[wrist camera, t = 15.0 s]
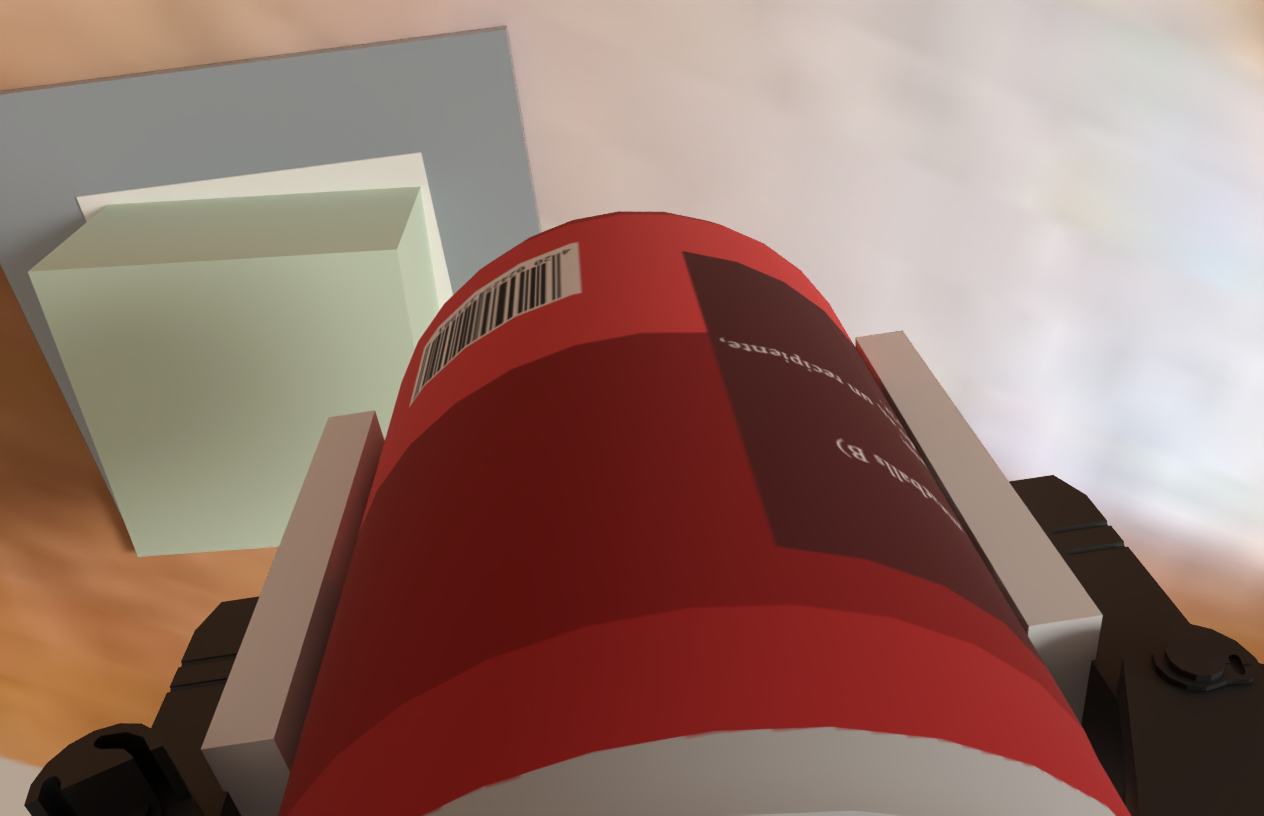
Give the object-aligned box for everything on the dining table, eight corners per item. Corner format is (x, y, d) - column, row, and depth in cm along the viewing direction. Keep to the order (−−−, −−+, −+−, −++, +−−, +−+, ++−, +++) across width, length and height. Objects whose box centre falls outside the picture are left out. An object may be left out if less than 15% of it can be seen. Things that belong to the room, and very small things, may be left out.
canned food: (371, 550, 18) (172, 1337, 9) (445, 135, 14) (235, 732, 5) (755, 613, 20) (944, 1342, 10) (916, 253, 16) (1459, 883, 6)
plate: (-65, 99, 27) (-79, 105, 26) (506, 25, 27) (505, 29, 26) (147, 546, 35) (140, 557, 34) (583, 488, 35) (584, 499, 35)
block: (108, 204, 28) (27, 271, 24) (420, 186, 28) (396, 249, 24) (192, 461, 33) (137, 556, 28) (459, 443, 33) (445, 534, 29)
